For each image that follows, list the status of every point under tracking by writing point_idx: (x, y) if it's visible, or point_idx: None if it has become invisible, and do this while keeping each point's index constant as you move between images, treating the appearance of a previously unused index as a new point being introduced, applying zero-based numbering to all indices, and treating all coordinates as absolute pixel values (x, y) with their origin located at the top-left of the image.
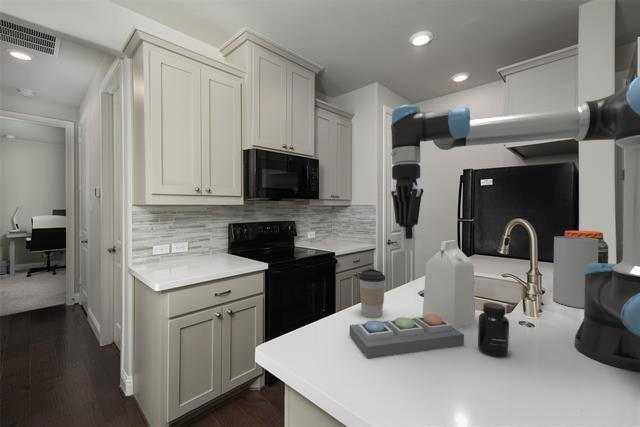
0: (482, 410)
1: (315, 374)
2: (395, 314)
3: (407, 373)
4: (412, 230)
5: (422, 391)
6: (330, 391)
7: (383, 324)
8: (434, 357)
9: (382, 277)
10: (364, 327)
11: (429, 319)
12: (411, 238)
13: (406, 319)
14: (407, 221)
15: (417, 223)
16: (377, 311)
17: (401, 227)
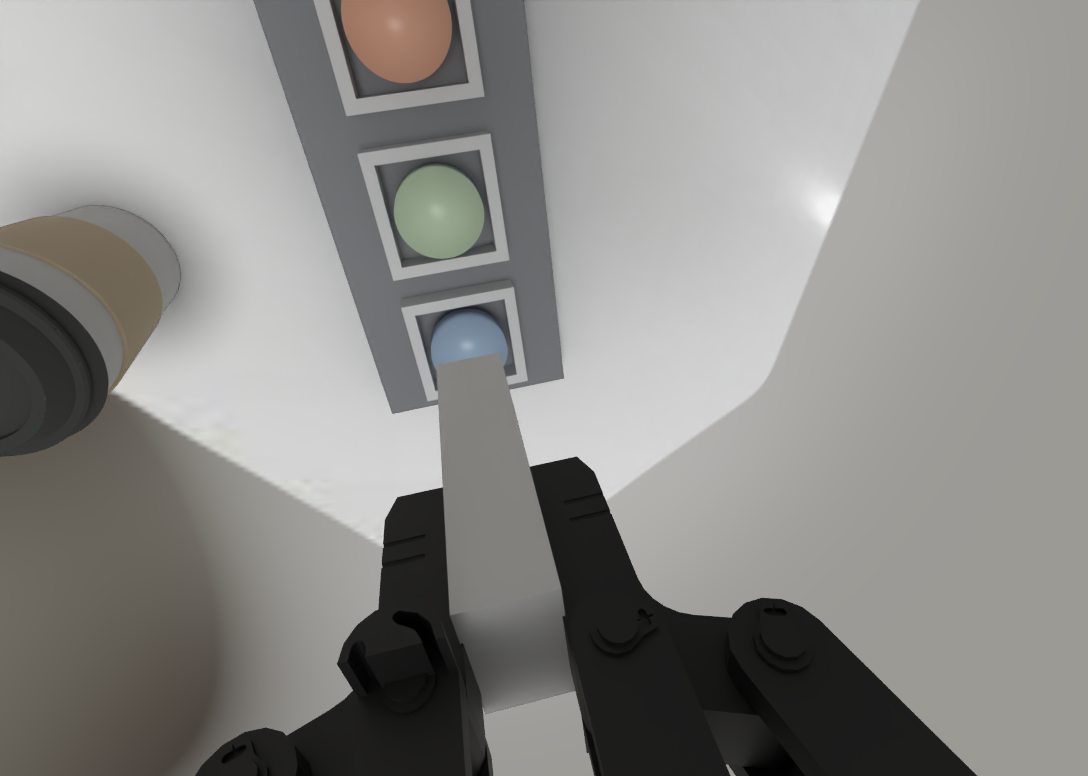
0: (832, 134)
1: (602, 476)
2: (82, 117)
3: (648, 266)
4: (624, 546)
5: (726, 256)
6: (666, 448)
7: (475, 321)
8: (582, 128)
9: (15, 305)
10: (431, 370)
11: (423, 60)
12: (578, 466)
13: (422, 199)
14: (736, 769)
15: (808, 616)
16: (160, 257)
17: (513, 695)
